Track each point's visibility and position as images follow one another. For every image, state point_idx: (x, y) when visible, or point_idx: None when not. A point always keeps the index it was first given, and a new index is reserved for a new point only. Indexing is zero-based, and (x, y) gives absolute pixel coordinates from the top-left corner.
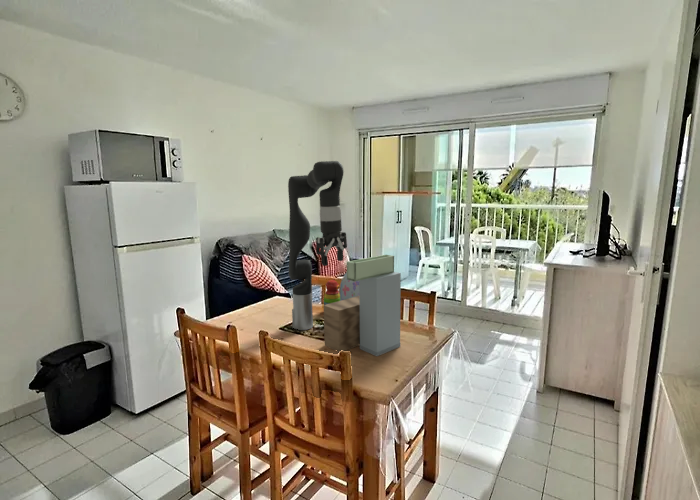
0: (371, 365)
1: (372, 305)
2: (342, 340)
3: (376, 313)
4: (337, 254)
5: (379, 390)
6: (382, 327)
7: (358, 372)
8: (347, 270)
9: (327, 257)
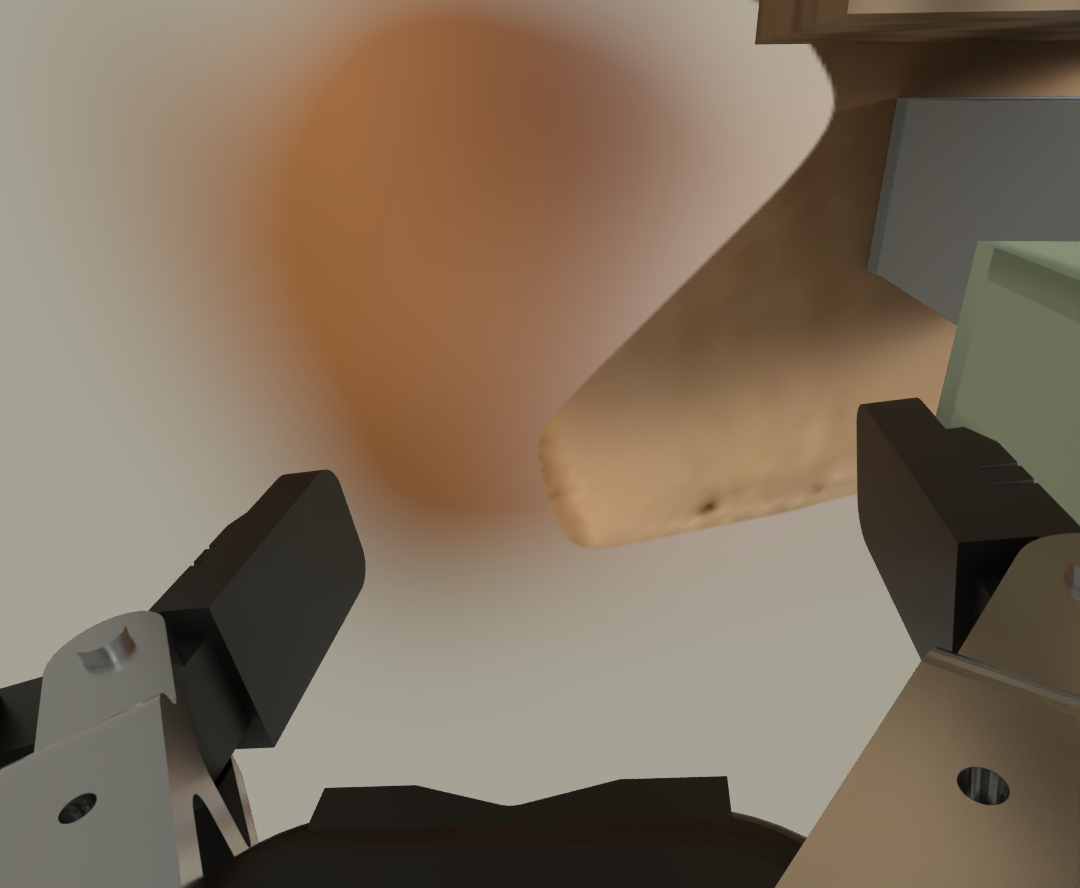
0: (750, 328)
1: None
2: (806, 37)
3: None
4: (911, 483)
5: (587, 511)
6: None
7: (640, 337)
8: (1059, 296)
9: (297, 703)
